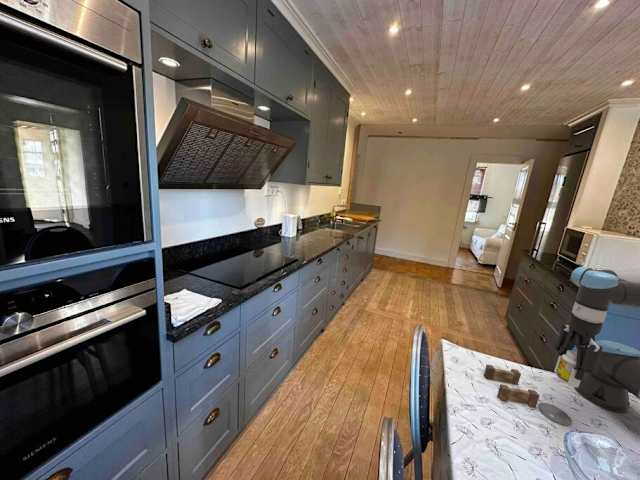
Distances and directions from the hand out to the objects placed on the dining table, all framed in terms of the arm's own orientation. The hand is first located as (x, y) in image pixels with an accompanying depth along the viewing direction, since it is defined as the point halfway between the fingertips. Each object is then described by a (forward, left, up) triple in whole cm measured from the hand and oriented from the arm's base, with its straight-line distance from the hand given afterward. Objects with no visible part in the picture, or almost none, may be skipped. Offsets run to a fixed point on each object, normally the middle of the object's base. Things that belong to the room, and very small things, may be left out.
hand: (565, 379), depth 90 cm
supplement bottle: (0, 0, 0) cm, 1 cm away
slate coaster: (0, 0, -15) cm, 15 cm away
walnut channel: (+11, -9, -15) cm, 20 cm away
